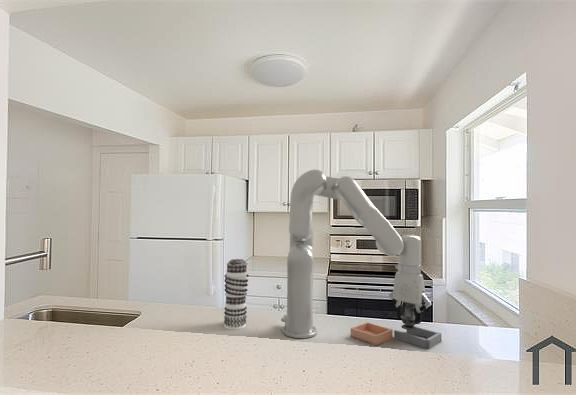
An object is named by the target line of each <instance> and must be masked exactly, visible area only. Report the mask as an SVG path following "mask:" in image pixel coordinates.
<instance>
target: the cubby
mask: <svg viewBox="0 0 576 395" xmlns="http://www.w3.org/2000/svg"><path fill="white" fill-rule="evenodd" d="M414 326H415V327H416V328H417V330H413V331H412V330H406V332H407V333H406V332H404V331H399V330H396V329H395V330H393V337H394V339H396V340H398V341H403V342H406V343H409V344H412V345H415V346H418V347H422V348H425V349H427V350H428V349H431V348H432V347H434V346H436V345H437V344H438V343H440V342H442V333H441V332H438V331H434V330H431V329H428V328H427V329H426V328H422V327H419V326H416V325H414ZM419 336H420V337H419Z"/></svg>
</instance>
